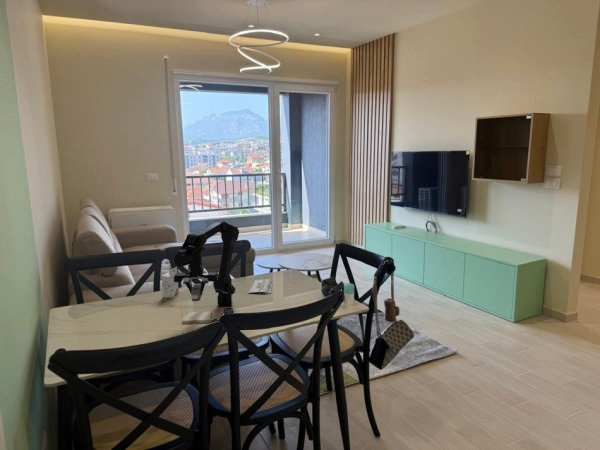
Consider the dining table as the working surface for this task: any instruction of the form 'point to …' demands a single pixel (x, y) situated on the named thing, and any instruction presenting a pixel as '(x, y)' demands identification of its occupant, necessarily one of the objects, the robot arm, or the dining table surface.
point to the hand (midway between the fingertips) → (196, 295)
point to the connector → (196, 292)
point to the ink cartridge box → (169, 284)
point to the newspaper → (261, 286)
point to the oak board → (197, 317)
